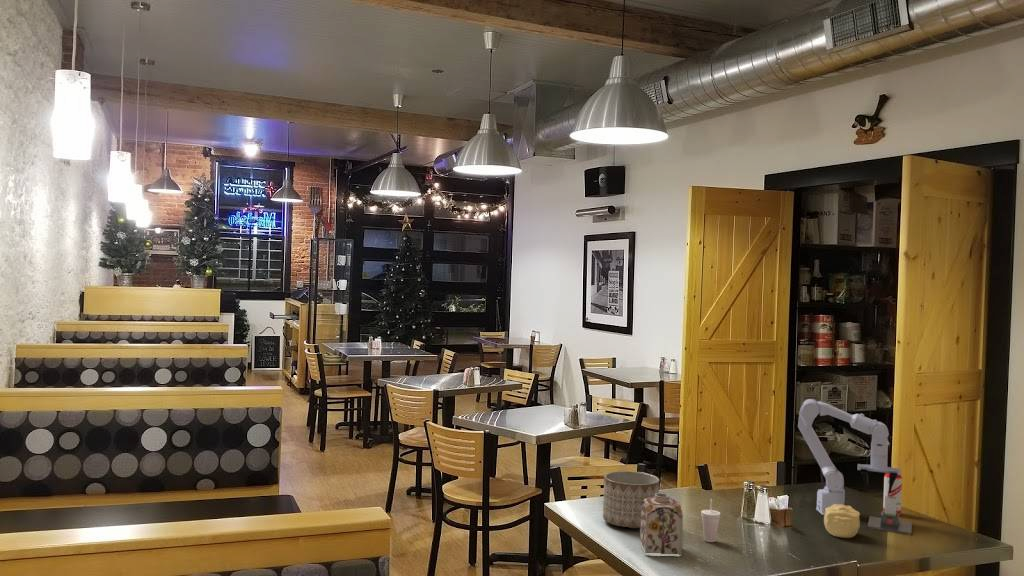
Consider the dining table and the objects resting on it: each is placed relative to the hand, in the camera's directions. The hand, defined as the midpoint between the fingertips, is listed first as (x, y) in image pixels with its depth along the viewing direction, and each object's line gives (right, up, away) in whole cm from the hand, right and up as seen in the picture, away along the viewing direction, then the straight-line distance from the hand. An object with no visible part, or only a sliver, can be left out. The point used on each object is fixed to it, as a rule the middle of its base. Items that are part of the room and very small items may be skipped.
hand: (878, 491), depth 288 cm
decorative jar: (-90, -8, -43) cm, 100 cm away
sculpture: (-23, -10, -21) cm, 32 cm away
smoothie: (-71, -8, -32) cm, 79 cm away
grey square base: (0, -10, -9) cm, 14 cm away
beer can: (+9, -11, +8) cm, 16 cm away
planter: (-96, -8, -15) cm, 97 cm away
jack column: (0, -7, -9) cm, 11 cm away
